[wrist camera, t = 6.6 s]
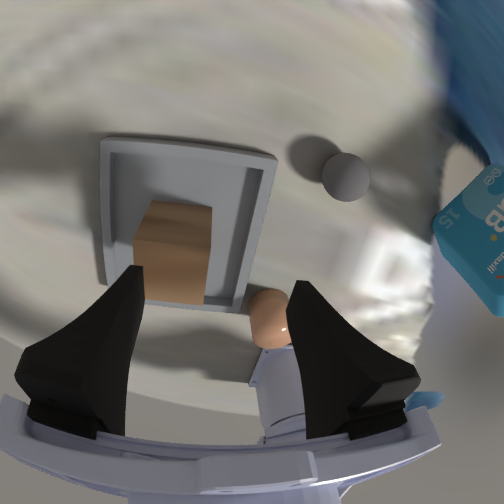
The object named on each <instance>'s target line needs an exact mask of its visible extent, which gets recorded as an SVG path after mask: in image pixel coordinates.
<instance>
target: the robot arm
mask: <svg viewBox="0 0 504 504" xmlns="http://www.w3.org/2000/svg"><path fill="white" fill-rule="evenodd" d="M144 303H145V291H144V274H143V266H138V265H129V266H128V267H127V269H126V270H125V271H124V272H123V273H122V274H121V275H120V277H119V278H118V279H117V280H116V281H115V282H114V283H113V284H112V285H111V287H110V288H109V289H108V290H107V291H106V292H105V293H104V294H103V295H102V296H101V297H100V298H99V299H98V300H97V301H96V302H95V303H94V304H93V305H92V306H91V307H89V308H88V309H87V310H86V311H85V312H84V313H82V314H81V315H80V316H79V317H78V318H76V319H75V320H74V321H72V322H71V323H69V324H68V325H67V326H65V327H64V328H62V329H61V330H59V331H57V332H56V333H54V334H52V335H51V336H49V337H47V338H45V339H43V340H41V341H39V342H37V343H35V344H33V345H31V346H29V347H27V348H25V350H24V352H23V354H22V356H21V359H20V361H19V364H18V366H17V369H16V372H15V374H14V376H15V379H16V381H17V383H18V384H19V385H20V387H21V388H22V389H23V390H24V392H25V393H26V394H27V395H28V396H29V398H30V399H31V401H30V405H28V404H26V403H25V402H23V401H21V400H18V399H16V398H13V397H11V396H9V395H7V394H3V396H2V399H1V402H0V449H1V450H2V451H4V452H5V453H7V454H8V455H10V456H12V457H13V458H15V459H16V460H18V461H20V462H22V463H24V464H26V465H29V466H31V467H33V468H35V469H38V470H40V471H42V472H45V473H47V474H50V475H52V476H55V477H58V478H60V479H63V480H66V481H68V482H72V483H74V484H77V485H80V486H84V487H87V488H90V489H94V490H97V491H101V492H105V493H109V494H113V495H117V496H122V497H127V498H128V504H341V501H340V499H341V497H342V496H343V495H344V494H345V493H346V492H347V491H348V490H349V489H350V487H351V486H352V485H354V484H357V483H359V482H363V481H366V480H368V479H371V478H374V477H377V476H379V475H382V474H385V473H387V472H390V471H392V470H394V469H397V468H399V467H402V466H404V465H406V464H409V463H411V462H413V461H415V460H416V459H418V458H420V457H422V456H423V455H425V454H427V453H429V452H431V451H432V450H434V449H436V448H437V447H439V446H440V445H441V441H440V439H439V436H438V434H437V432H436V429H435V427H434V424H433V422H432V420H431V417H430V415H429V413H428V410H427V408H426V406H422V407H419V408H416V409H413V410H411V411H408V412H406V413H404V411H403V408H405V406H406V405H405V403H404V400H405V399H406V398H407V397H408V396H409V395H410V394H411V393H412V392H413V391H415V389H416V388H417V387H418V386H419V384H420V382H421V378H420V376H419V374H418V373H417V370H416V368H415V366H414V365H412V364H410V363H408V362H406V361H404V360H402V359H399V358H397V357H396V356H394V355H392V354H390V353H388V352H387V351H385V350H383V349H382V348H380V347H379V346H377V345H376V344H374V343H373V342H371V341H370V340H369V339H367V338H366V337H365V336H363V335H362V334H361V333H360V332H358V331H357V330H356V329H355V328H354V327H352V326H351V325H350V324H349V323H348V322H347V321H346V320H345V319H344V318H343V317H342V316H341V315H340V314H339V313H338V312H337V311H336V310H335V309H334V308H333V307H332V306H331V305H330V304H329V303H328V302H327V301H326V299H325V298H324V297H323V296H322V295H321V294H320V293H319V292H318V291H317V290H316V288H315V287H314V286H313V285H312V284H311V283H310V282H309V281H302V280H297V281H296V283H295V286H294V289H293V292H292V294H291V297H290V300H289V302H288V305H287V308H286V310H285V311H286V319H287V326H288V331H289V335H290V338H291V342H292V345H286V346H284V347H281V348H276V349H265V348H263V349H262V352H261V354H260V357H259V359H258V362H257V364H256V366H255V369H254V371H253V374H252V376H251V379H250V381H249V383H248V384H249V387H256V392H257V399H258V406H259V413H260V420H261V424H262V426H263V428H264V430H265V436H261V437H260V439H259V441H258V442H257V444H255V445H194V444H180V443H169V442H159V441H151V440H144V439H137V438H131V437H125V409H126V393H127V383H128V374H129V367H130V361H131V356H132V352H133V349H134V345H135V341H136V338H137V334H138V330H139V327H140V323H141V320H142V315H143V309H144Z"/></svg>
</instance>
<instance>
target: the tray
mask: <svg viewBox="0 0 504 504" xmlns="http://www.w3.org/2000/svg"><path fill="white" fill-rule="evenodd" d="M277 165H278V160H277V158H276V157H275V156H274V155H269V154H264V153H259V152H253V151H248V150H242V149H235V148H229V147H222V146H216V145H208V144H201V143H192V142H184V141H174V140H164V139H152V138H138V137H119V136H108V137H106V138H104V139H102V140H100V169H99V184H100V215H101V231H102V243H103V253H104V262H105V270H106V278H107V285H108V289H109V288H110V287H111V285H112V284H113V283H114V282H115V281H116V280H117V279H118V278H119V277H120V275H121V274H122V273H123V272H124V271H125V270H126V269H127V267H128V266H129V265H134V261H133V238H134V235H135V233H136V231H137V229H138V227H139V225H140V223H141V221H142V219H143V217H144V215H145V213H146V211H147V209H148V207H149V205H150V203H151V201H152V200H155V201H165V202H174V203H183V204H191V205H200V206H208V207H212V233H211V252H210V259H209V266H208V273H207V280H206V287H205V295H204V302H203V306H201V305H191V304H182V303H173V302H164V301H156V300H148V299H145V303H144V304H149V305H157V306H165V307H173V308H182V309H192V310H202V311H213V312H225V313H237V314H239V313H240V309H241V305H242V301H243V298H244V294H245V290H246V286H247V282H248V278H249V274H250V270H251V266H252V263H253V259H254V255H255V251H256V247H257V243H258V239H259V235H260V231H261V227H262V224H263V220H264V216H265V212H266V208H267V204H268V200H269V196H270V192H271V188H272V184H273V180H274V176H275V172H276V169H277Z"/></svg>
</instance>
